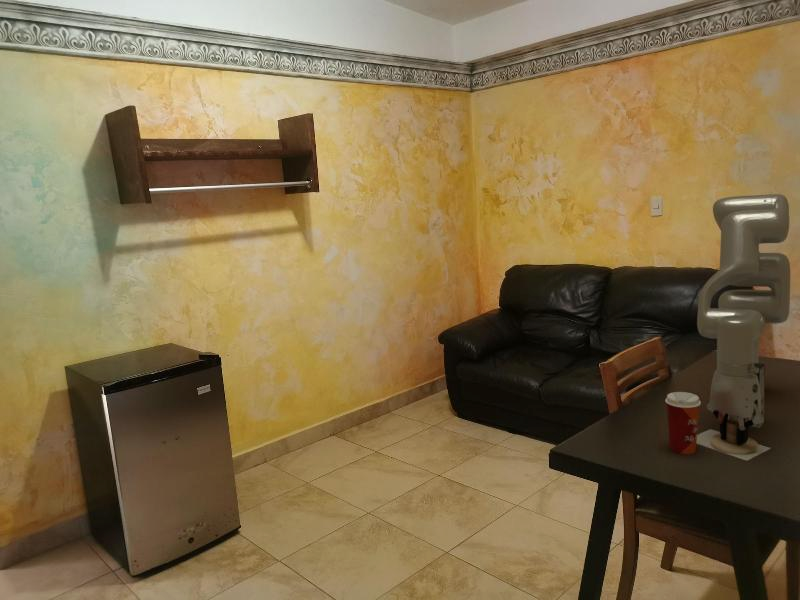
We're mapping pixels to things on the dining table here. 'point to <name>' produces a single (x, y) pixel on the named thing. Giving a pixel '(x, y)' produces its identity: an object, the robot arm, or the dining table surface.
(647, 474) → the dining table surface
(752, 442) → the lid
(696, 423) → the paper cup
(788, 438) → the dining table surface
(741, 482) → the dining table surface
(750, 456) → the mat
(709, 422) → the dining table surface
